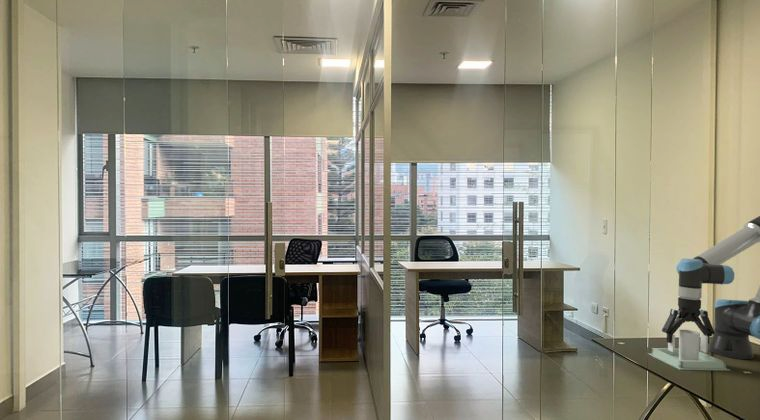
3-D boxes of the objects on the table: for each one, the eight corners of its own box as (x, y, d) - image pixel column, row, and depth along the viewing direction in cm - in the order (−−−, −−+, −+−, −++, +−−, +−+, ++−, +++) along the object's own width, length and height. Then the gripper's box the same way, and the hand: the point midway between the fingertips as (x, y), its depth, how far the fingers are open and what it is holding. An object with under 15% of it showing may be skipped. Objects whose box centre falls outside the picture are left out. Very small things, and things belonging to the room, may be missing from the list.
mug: (699, 366, 171) (700, 335, 171) (678, 362, 174) (679, 331, 174) (697, 359, 179) (698, 329, 179) (677, 355, 183) (678, 326, 183)
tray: (693, 355, 186) (693, 348, 186) (730, 370, 168) (730, 362, 168) (647, 354, 185) (648, 347, 185) (679, 369, 167) (680, 362, 167)
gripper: (711, 296, 181) (709, 348, 181) (653, 295, 180) (651, 347, 180) (727, 300, 174) (725, 354, 174) (666, 298, 172) (664, 353, 172)
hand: (687, 351), depth 177 cm, fingers open, 13 cm apart
